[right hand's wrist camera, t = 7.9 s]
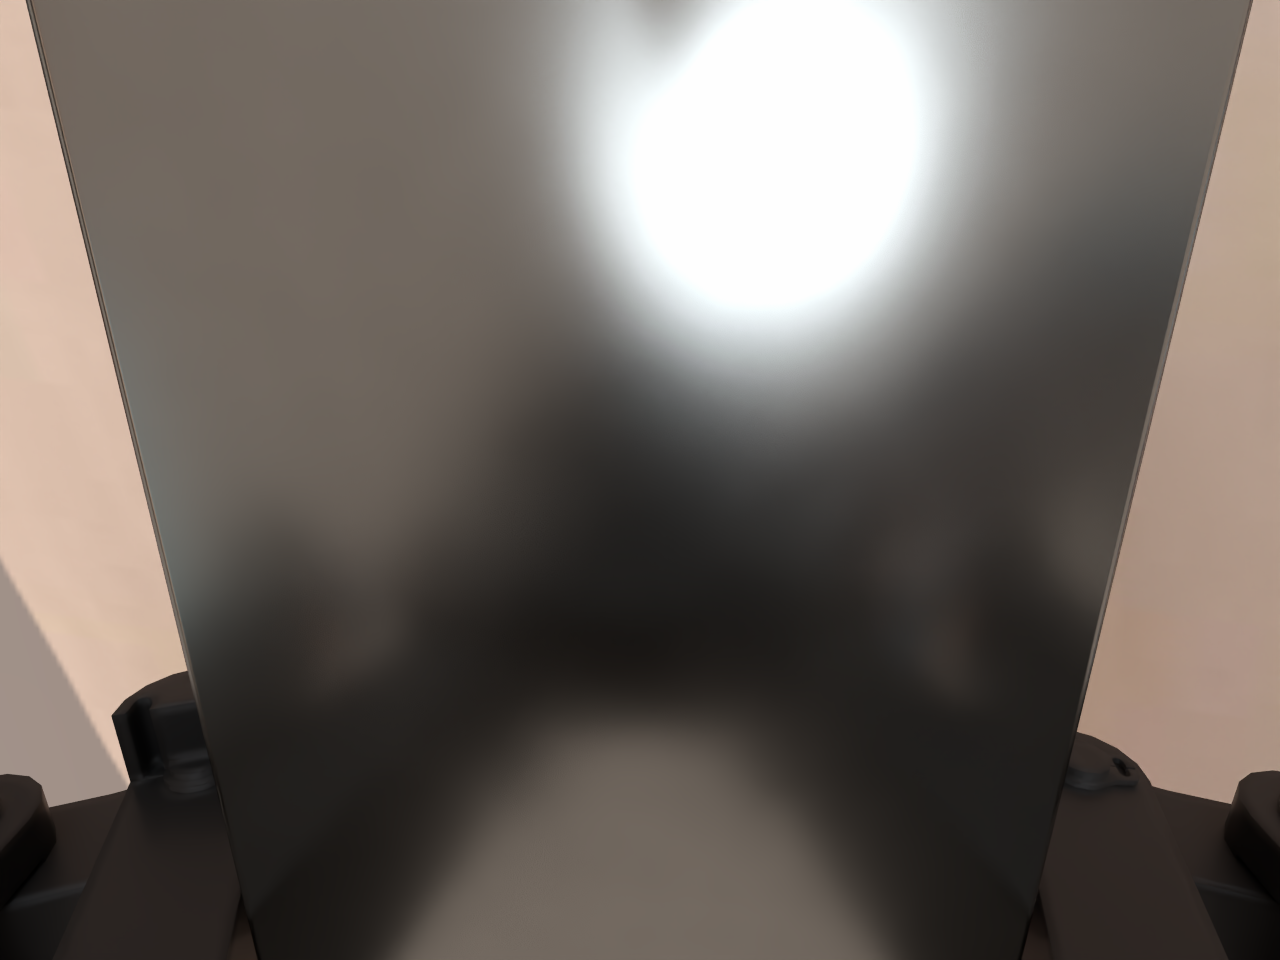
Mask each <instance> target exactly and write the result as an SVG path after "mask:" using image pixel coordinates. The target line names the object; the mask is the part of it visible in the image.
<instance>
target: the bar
mask: <svg viewBox="0 0 1280 960" xmlns="http://www.w3.org/2000/svg"><path fill="white" fill-rule="evenodd" d="M1252 2H1253V0H26V3H27V8H28V12H29V16H30V20H31V24H32V28H33V32H34V37H35V41H36V45H37V49H38V53H39V57H40V61H41V66H42V70H43V74H44V78H45V82H46V86H47V90H48V94H49V99H50V103H51V107H52V111H53V115H54V119H55V123H56V128H57V132H58V136H59V140H60V144H61V148H62V152H63V157H64V161H65V165H66V169H67V173H68V177H69V181H70V186H71V190H72V194H73V198H74V202H75V206H76V210H77V215H78V219H79V223H80V227H81V231H82V235H83V239H84V244H85V248H86V252H87V256H88V260H89V264H90V268H91V272H92V277H93V281H94V285H95V289H96V293H97V297H98V301H99V306H100V310H101V314H102V318H103V322H104V326H105V330H106V335H107V339H108V343H109V347H110V351H111V355H112V359H113V364H114V368H115V372H116V376H117V380H118V384H119V388H120V393H121V397H122V401H123V405H124V409H125V413H126V417H127V422H128V426H129V430H130V434H131V438H132V442H133V446H134V450H135V455H136V459H137V463H138V467H139V471H140V475H141V479H142V484H143V488H144V492H145V496H146V500H147V504H148V508H149V513H150V517H151V521H152V525H153V529H154V533H155V537H156V542H157V546H158V550H159V554H160V558H161V562H162V566H163V571H164V575H165V579H166V583H167V587H168V591H169V595H170V600H171V604H172V608H173V612H174V616H175V620H176V624H177V628H178V633H179V637H180V641H181V645H182V649H183V653H184V657H185V662H186V666H187V670H188V674H189V678H190V682H191V686H192V691H193V695H194V699H195V703H196V707H197V711H198V715H199V720H200V724H201V728H202V732H203V736H204V740H205V744H206V749H207V753H208V757H209V761H210V765H211V769H212V773H213V778H214V782H215V786H216V790H217V794H218V798H219V802H220V807H221V811H222V815H223V819H224V823H225V827H226V831H227V835H228V840H229V844H230V848H231V852H232V856H233V860H234V864H235V869H236V873H237V877H238V881H239V885H240V889H241V893H242V898H243V902H244V906H245V910H246V914H247V918H248V922H249V927H250V931H251V935H252V939H253V943H254V947H255V951H256V956H257V960H1022V956H1023V952H1024V948H1025V944H1026V940H1027V935H1028V931H1029V927H1030V923H1031V919H1032V915H1033V911H1034V906H1035V902H1036V898H1037V894H1038V890H1039V886H1040V882H1041V877H1042V873H1043V869H1044V865H1045V861H1046V857H1047V853H1048V848H1049V844H1050V840H1051V836H1052V832H1053V828H1054V823H1055V819H1056V815H1057V811H1058V807H1059V803H1060V799H1061V794H1062V790H1063V786H1064V782H1065V778H1066V774H1067V770H1068V765H1069V761H1070V757H1071V753H1072V749H1073V745H1074V740H1075V736H1076V732H1077V728H1078V724H1079V720H1080V716H1081V711H1082V707H1083V703H1084V699H1085V695H1086V691H1087V687H1088V682H1089V678H1090V674H1091V670H1092V666H1093V662H1094V658H1095V653H1096V649H1097V645H1098V641H1099V637H1100V633H1101V628H1102V624H1103V620H1104V616H1105V612H1106V608H1107V604H1108V599H1109V595H1110V591H1111V587H1112V583H1113V579H1114V575H1115V570H1116V566H1117V562H1118V558H1119V554H1120V550H1121V546H1122V541H1123V537H1124V533H1125V529H1126V525H1127V521H1128V516H1129V512H1130V508H1131V504H1132V500H1133V496H1134V492H1135V487H1136V483H1137V479H1138V475H1139V471H1140V467H1141V463H1142V458H1143V454H1144V450H1145V446H1146V442H1147V438H1148V433H1149V429H1150V425H1151V421H1152V417H1153V413H1154V409H1155V404H1156V400H1157V396H1158V392H1159V388H1160V384H1161V380H1162V375H1163V371H1164V367H1165V363H1166V359H1167V355H1168V351H1169V346H1170V342H1171V338H1172V334H1173V330H1174V326H1175V321H1176V317H1177V313H1178V309H1179V305H1180V301H1181V297H1182V292H1183V288H1184V284H1185V280H1186V276H1187V272H1188V268H1189V263H1190V259H1191V255H1192V251H1193V247H1194V243H1195V239H1196V234H1197V230H1198V226H1199V222H1200V218H1201V214H1202V209H1203V205H1204V201H1205V197H1206V193H1207V189H1208V185H1209V180H1210V176H1211V172H1212V168H1213V164H1214V160H1215V156H1216V151H1217V147H1218V143H1219V139H1220V135H1221V131H1222V126H1223V122H1224V118H1225V114H1226V110H1227V106H1228V102H1229V97H1230V93H1231V89H1232V85H1233V81H1234V77H1235V73H1236V68H1237V64H1238V60H1239V56H1240V52H1241V48H1242V44H1243V39H1244V35H1245V31H1246V27H1247V23H1248V19H1249V14H1250V10H1251V6H1252Z"/></svg>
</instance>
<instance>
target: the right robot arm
mask: <svg viewBox="0 0 1280 960" xmlns="http://www.w3.org/2000/svg"><path fill="white" fill-rule="evenodd" d="M112 720H113V723H114V727H115V730H116V733H117V737H118V740H119V744H120V747H121V751H122V754H123V758H124V761H125V765H126V768H127V771H128V775H129V778H130V784H129V787H128V789H127V790H125V791H121V792H117V793H114V794H110V795H105V796H100V797H96V798H91V799H87V800H82V801H78V802H73V803H68V804H64V805H59V806H54V807H50V808H49V807H48V804H47V801H46V798H45V795H44V792H43V789H42V786H41V785H40V784H39V783H37V782H36V781H35V780H33V779H32V778H31V777H29V776H21V775H12V774H4V775H0V960H257V956H256V951H255V947H254V943H253V939H252V935H251V931H250V927H249V922H248V918H247V914H246V910H245V906H244V902H243V898H242V893H241V889H240V885H239V881H238V877H237V873H236V869H235V864H234V860H233V856H232V852H231V848H230V844H229V840H228V835H227V831H226V827H225V823H224V819H223V815H222V811H221V807H220V802H219V798H218V794H217V790H216V786H215V782H214V778H213V773H212V769H211V765H210V761H209V757H208V753H207V749H206V744H205V740H204V736H203V732H202V728H201V724H200V720H199V715H198V711H197V707H196V703H195V699H194V695H193V691H192V686H191V682H190V678H189V674H188V671H185V672H181V673H177V674H173V675H170V676H168V677H166V678H163V679H161V680H159V681H156V682H154V683H151V684H149V685H147V686H145V687H144V688H142V689H141V690H139V691H138V692H136V693H135V694H133V695H132V696H130V697H129V698H127V699H126V700H124V702H123V703H122V704H121V705H120V706H119V707H118V709H117V710H116V711H115V712H114V713H113V714H112ZM1022 960H1280V772H1279V771H1264V772H1255V773H1250V774H1249V775H1248V776H1246V777H1245V778H1244V779H1242V780H1241V781H1240V782H1239V784H1238V787H1237V790H1236V793H1235V796H1234V799H1233V801H1232V804H1228V803H1223V802H1218V801H1214V800H1209V799H1204V798H1200V797H1195V796H1190V795H1186V794H1181V793H1176V792H1172V791H1167V790H1164V789H1160V788H1157V787H1153V786H1152V785H1151V783H1150V781H1149V779H1148V778H1147V777H1146V775H1145V774H1144V773H1143V771H1142V770H1141V768H1140V767H1139V766H1138V764H1137V763H1135V762H1134V761H1133V760H1131V759H1130V758H1129V757H1128V756H1126V755H1125V754H1124V753H1122V752H1121V751H1120V750H1118V749H1117V748H1115V747H1113V746H1111V745H1109V744H1107V743H1105V742H1103V741H1101V740H1099V739H1097V738H1095V737H1093V736H1089V735H1086V734H1082V733H1078V732H1076V736H1075V740H1074V745H1073V749H1072V753H1071V757H1070V761H1069V765H1068V770H1067V774H1066V778H1065V782H1064V786H1063V790H1062V794H1061V799H1060V803H1059V807H1058V811H1057V815H1056V819H1055V823H1054V828H1053V832H1052V836H1051V840H1050V844H1049V848H1048V853H1047V857H1046V861H1045V865H1044V869H1043V873H1042V877H1041V882H1040V886H1039V890H1038V894H1037V898H1036V902H1035V906H1034V911H1033V915H1032V919H1031V923H1030V927H1029V931H1028V935H1027V940H1026V944H1025V948H1024V952H1023V956H1022Z"/></svg>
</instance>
